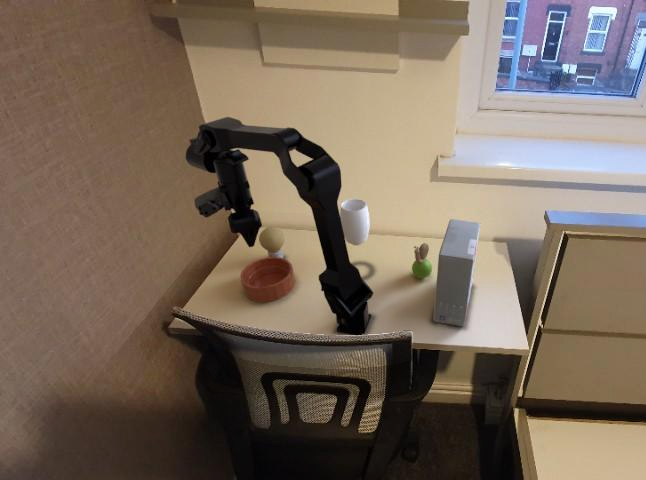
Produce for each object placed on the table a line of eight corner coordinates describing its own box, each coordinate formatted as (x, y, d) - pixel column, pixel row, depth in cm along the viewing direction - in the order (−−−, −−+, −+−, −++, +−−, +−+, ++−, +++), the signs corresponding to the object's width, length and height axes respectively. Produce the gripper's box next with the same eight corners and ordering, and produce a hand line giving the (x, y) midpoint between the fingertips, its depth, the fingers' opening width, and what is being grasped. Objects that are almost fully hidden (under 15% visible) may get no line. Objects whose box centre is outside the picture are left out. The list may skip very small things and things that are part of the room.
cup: (340, 275, 106) (333, 209, 94) (353, 260, 112) (347, 195, 100) (365, 281, 104) (360, 214, 93) (376, 265, 110) (373, 200, 98)
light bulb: (279, 268, 108) (272, 238, 102) (259, 263, 109) (251, 233, 103) (293, 255, 113) (287, 225, 107) (274, 250, 114) (267, 220, 108)
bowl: (303, 275, 106) (300, 260, 103) (281, 306, 96) (278, 291, 93) (260, 268, 107) (256, 254, 104) (235, 299, 97) (230, 284, 94)
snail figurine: (406, 280, 106) (406, 243, 99) (417, 267, 110) (418, 231, 103) (423, 287, 104) (425, 250, 97) (435, 273, 108) (437, 237, 102)
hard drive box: (464, 328, 93) (473, 261, 81) (432, 322, 94) (436, 255, 82) (472, 285, 105) (480, 222, 94) (444, 280, 106) (449, 217, 95)
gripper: (188, 167, 90) (208, 224, 99) (193, 204, 76) (215, 267, 85) (241, 159, 94) (255, 215, 103) (254, 193, 81) (269, 254, 90)
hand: (248, 236), depth 95 cm, fingers open, 9 cm apart
